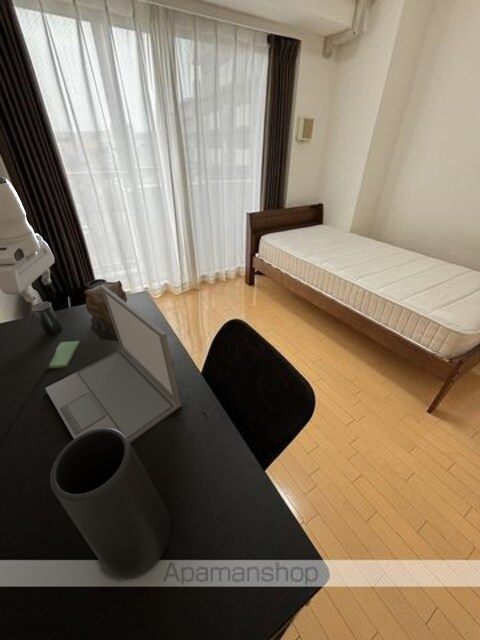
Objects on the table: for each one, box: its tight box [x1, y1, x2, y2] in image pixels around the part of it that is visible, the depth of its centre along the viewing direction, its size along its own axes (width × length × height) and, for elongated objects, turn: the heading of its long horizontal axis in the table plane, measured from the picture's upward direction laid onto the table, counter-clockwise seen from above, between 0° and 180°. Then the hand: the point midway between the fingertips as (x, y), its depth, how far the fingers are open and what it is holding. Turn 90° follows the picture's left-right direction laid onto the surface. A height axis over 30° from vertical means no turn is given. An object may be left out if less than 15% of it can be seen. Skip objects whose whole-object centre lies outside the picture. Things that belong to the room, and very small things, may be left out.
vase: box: [49, 428, 172, 580], centre depth 49 cm, size 14×14×29 cm
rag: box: [45, 340, 81, 370], centre depth 101 cm, size 7×13×1 cm, turn 6°
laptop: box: [44, 285, 182, 444], centre depth 77 cm, size 35×26×27 cm
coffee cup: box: [86, 278, 108, 290], centre depth 118 cm, size 8×8×15 cm
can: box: [31, 301, 63, 337], centre depth 109 cm, size 6×6×12 cm
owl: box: [84, 280, 128, 342], centre depth 106 cm, size 13×13×20 cm
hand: (40, 291), depth 80 cm, fingers open, 8 cm apart
